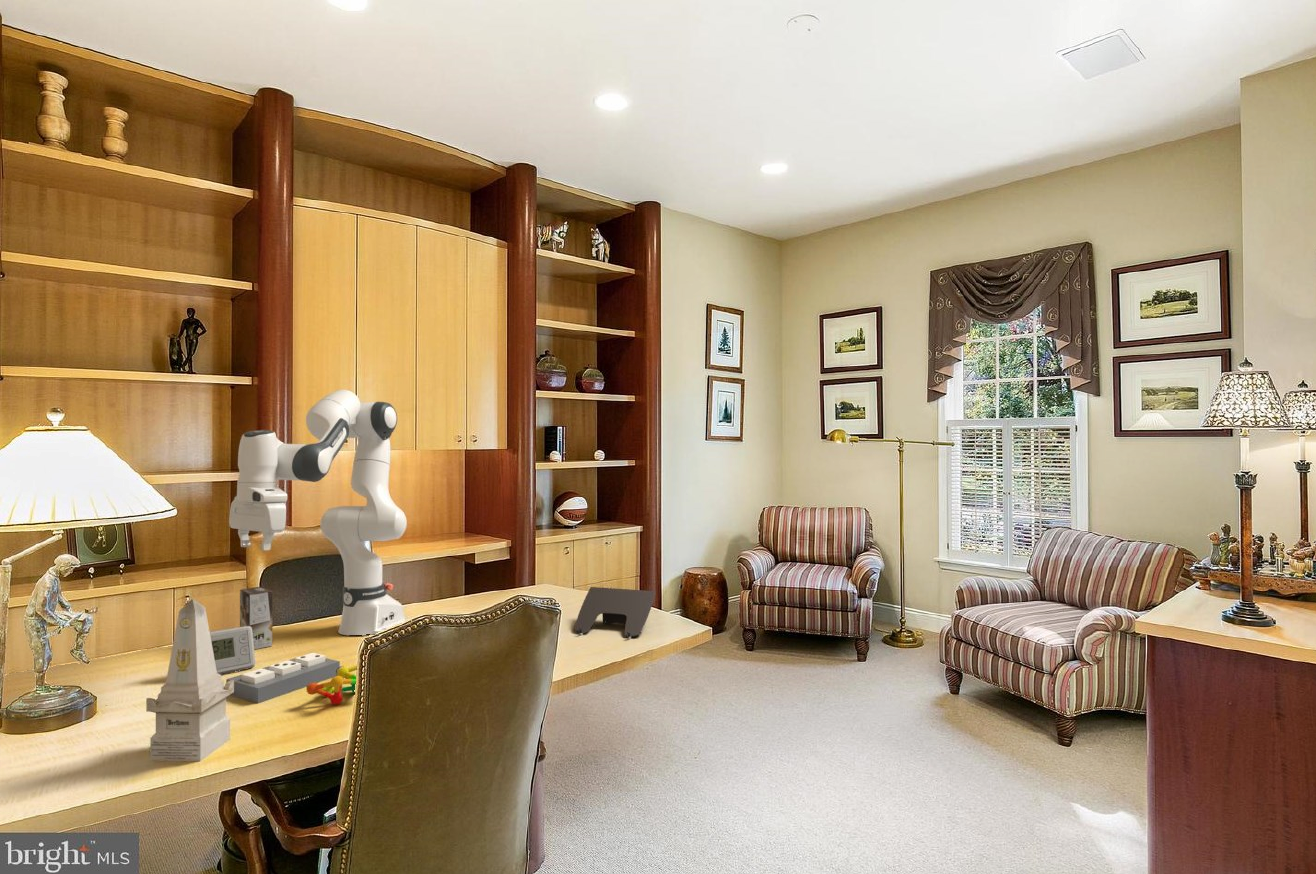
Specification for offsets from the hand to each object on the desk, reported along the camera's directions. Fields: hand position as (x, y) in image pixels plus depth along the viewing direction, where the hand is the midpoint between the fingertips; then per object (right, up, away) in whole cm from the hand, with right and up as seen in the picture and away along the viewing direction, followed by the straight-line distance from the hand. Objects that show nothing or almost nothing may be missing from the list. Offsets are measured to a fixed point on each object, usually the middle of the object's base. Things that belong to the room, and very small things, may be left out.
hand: (255, 548), depth 181 cm
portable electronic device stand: (+88, -34, +50) cm, 106 cm away
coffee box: (-15, -33, +27) cm, 45 cm away
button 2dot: (+13, -31, +3) cm, 34 cm away
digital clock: (-11, -33, +4) cm, 35 cm away
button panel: (+9, -33, -4) cm, 35 cm away
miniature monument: (+10, -34, -40) cm, 53 cm away
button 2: (+9, -31, -4) cm, 33 cm away
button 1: (+6, -31, -10) cm, 33 cm away
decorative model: (+27, -34, -12) cm, 45 cm away
